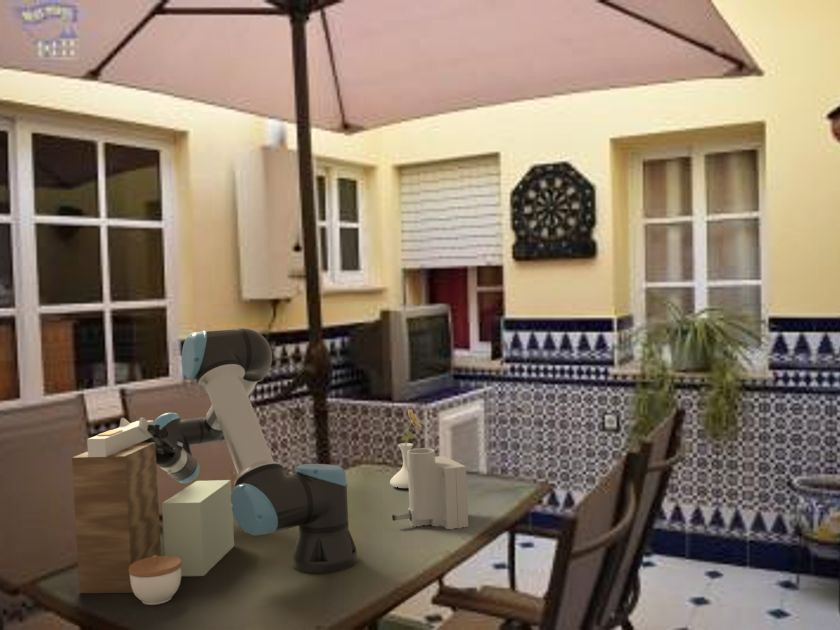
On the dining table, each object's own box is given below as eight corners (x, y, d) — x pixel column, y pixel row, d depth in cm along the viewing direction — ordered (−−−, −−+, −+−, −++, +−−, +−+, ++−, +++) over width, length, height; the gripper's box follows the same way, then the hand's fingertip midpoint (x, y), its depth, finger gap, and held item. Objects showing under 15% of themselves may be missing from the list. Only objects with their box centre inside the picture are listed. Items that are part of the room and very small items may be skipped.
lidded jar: (153, 612, 166) (151, 567, 166) (119, 604, 172) (117, 560, 171) (194, 594, 175) (191, 551, 175) (160, 587, 181) (158, 545, 180)
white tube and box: (469, 526, 217) (466, 452, 216) (403, 536, 210) (399, 459, 210) (446, 512, 232) (443, 442, 232) (384, 521, 226) (381, 449, 225)
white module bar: (138, 436, 203) (137, 419, 202) (154, 436, 202) (153, 419, 202) (88, 457, 178) (87, 437, 178) (105, 456, 177) (104, 437, 177)
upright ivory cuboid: (200, 546, 210) (196, 480, 209) (234, 545, 209) (230, 480, 208) (165, 576, 188) (162, 503, 187) (203, 575, 187) (199, 502, 186)
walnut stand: (110, 568, 195) (104, 443, 194) (161, 567, 194) (155, 442, 193) (76, 593, 179) (69, 457, 178) (132, 592, 178) (124, 456, 177)
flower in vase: (412, 492, 256) (408, 413, 256) (383, 489, 263) (379, 412, 262) (434, 483, 267) (431, 407, 267) (405, 480, 274) (402, 406, 273)
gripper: (197, 467, 212) (163, 436, 192) (134, 469, 214) (93, 438, 193) (201, 440, 216) (168, 407, 195) (138, 441, 217) (99, 409, 197)
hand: (131, 423), depth 194 cm, fingers closed on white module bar, 4 cm apart
